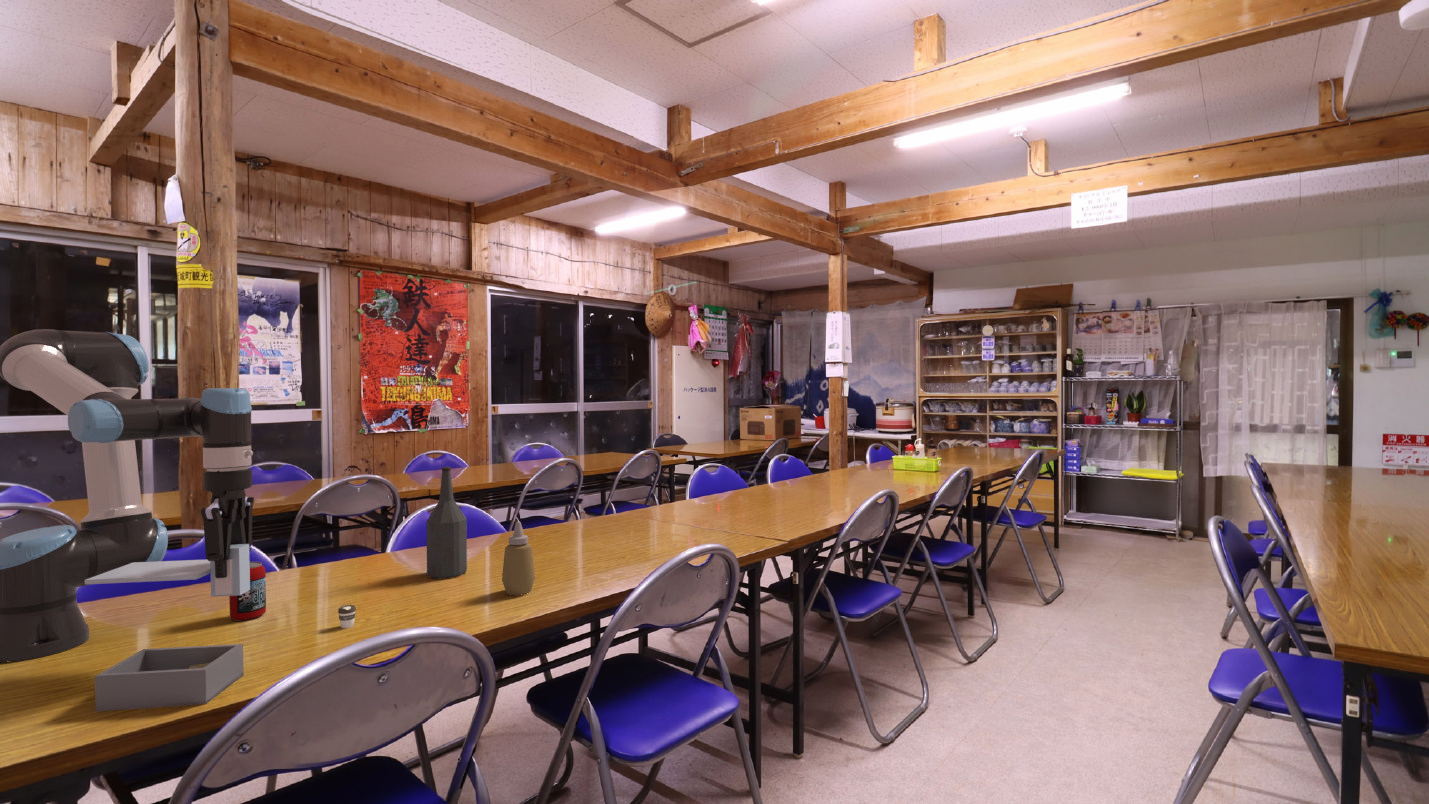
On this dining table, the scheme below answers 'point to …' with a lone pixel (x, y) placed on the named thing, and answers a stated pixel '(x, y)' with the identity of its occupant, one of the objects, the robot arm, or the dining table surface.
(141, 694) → the tub
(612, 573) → the dining table surface
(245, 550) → the lid
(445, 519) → the bottle
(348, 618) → the coffee cup
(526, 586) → the squeeze bottle
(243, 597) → the beverage can
